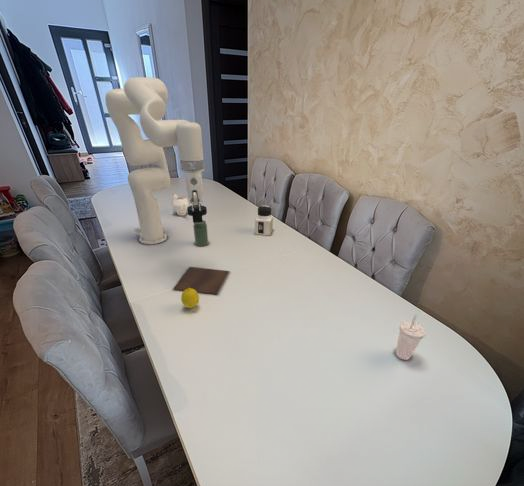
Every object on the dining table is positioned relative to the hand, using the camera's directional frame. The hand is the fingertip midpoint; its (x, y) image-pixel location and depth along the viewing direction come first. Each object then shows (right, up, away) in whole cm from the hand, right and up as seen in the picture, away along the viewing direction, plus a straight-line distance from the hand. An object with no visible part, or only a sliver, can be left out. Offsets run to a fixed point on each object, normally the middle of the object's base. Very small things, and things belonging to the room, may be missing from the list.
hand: (197, 218), depth 109 cm
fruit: (0, -32, -8) cm, 32 cm away
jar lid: (0, +3, -2) cm, 3 cm away
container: (+24, +3, +47) cm, 53 cm away
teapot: (-23, +17, +66) cm, 72 cm away
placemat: (0, -22, +7) cm, 23 cm away
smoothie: (+62, -44, -23) cm, 79 cm away
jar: (-5, -4, +34) cm, 34 cm away
